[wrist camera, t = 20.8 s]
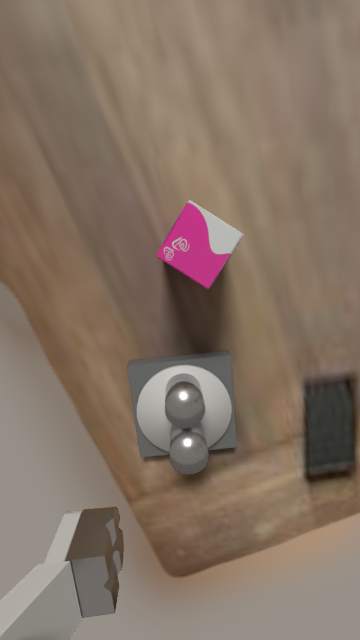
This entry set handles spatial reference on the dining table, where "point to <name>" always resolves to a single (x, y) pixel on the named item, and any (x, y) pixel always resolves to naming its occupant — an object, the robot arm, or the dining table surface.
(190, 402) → the cylinder
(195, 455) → the cylinder
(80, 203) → the dining table surface
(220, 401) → the scale
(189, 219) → the supplement box
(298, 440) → the dining table surface
